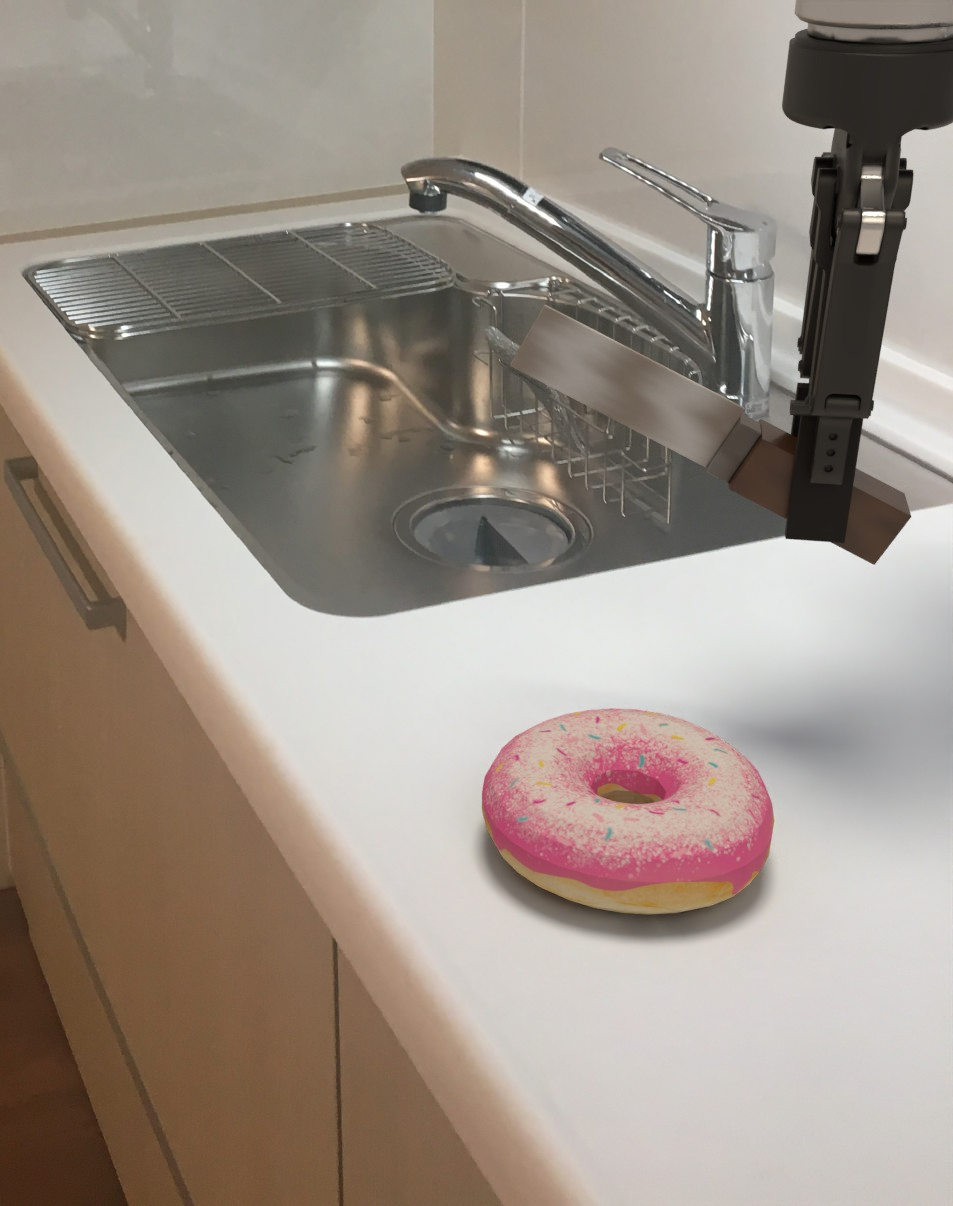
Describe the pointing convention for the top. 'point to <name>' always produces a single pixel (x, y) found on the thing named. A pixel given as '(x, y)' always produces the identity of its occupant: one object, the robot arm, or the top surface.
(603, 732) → the donut
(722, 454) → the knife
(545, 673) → the top surface
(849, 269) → the robot arm
